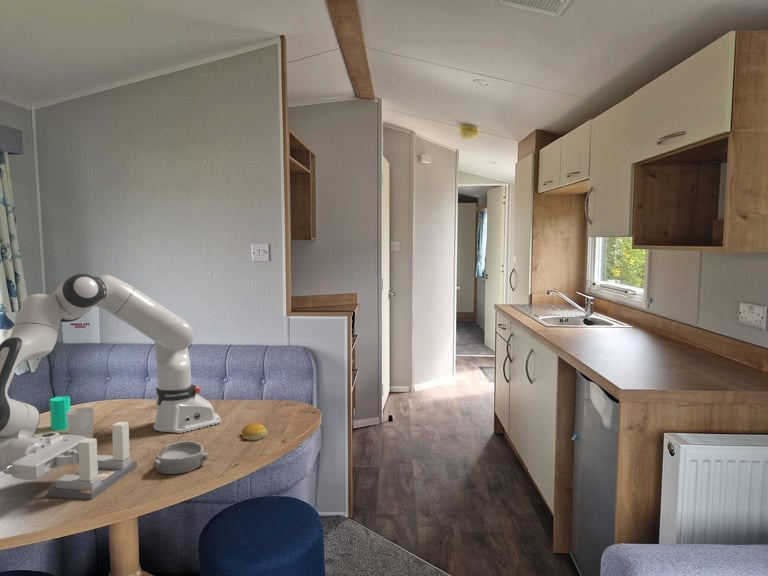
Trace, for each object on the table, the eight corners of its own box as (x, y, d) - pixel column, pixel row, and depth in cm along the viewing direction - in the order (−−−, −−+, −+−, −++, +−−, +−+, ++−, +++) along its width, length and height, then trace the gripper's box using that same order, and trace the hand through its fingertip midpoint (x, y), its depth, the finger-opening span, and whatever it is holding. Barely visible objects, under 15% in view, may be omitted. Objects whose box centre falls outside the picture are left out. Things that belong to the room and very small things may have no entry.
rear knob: (113, 459, 147) (112, 425, 147) (119, 455, 150) (118, 421, 150) (123, 460, 147) (122, 425, 146) (129, 456, 150) (128, 422, 149)
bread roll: (243, 442, 172) (243, 431, 171) (241, 433, 180) (240, 422, 180) (269, 439, 175) (269, 428, 174) (265, 430, 183) (265, 419, 183)
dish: (154, 479, 144) (154, 462, 144) (154, 460, 157) (154, 444, 157) (209, 471, 150) (209, 454, 150) (205, 453, 163) (205, 437, 162)
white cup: (64, 440, 171) (62, 411, 170) (90, 434, 177) (89, 405, 176) (71, 447, 166) (70, 416, 165) (98, 440, 172) (97, 411, 171)
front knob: (79, 480, 135) (78, 442, 134) (87, 475, 138) (85, 438, 137) (90, 480, 134) (89, 442, 133) (98, 475, 137) (96, 438, 136)
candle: (74, 425, 186) (73, 391, 185) (63, 430, 180) (61, 396, 179) (59, 424, 187) (57, 391, 186) (46, 430, 181) (45, 396, 180)
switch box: (47, 496, 134) (47, 483, 133) (98, 464, 154) (98, 452, 153) (91, 499, 132) (91, 485, 132) (137, 466, 152) (136, 454, 152)
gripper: (-3, 459, 127) (50, 462, 125) (58, 430, 147) (104, 432, 145) (-2, 484, 127) (51, 488, 126) (59, 451, 147) (105, 454, 146)
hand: (80, 457), depth 136 cm, fingers closed
